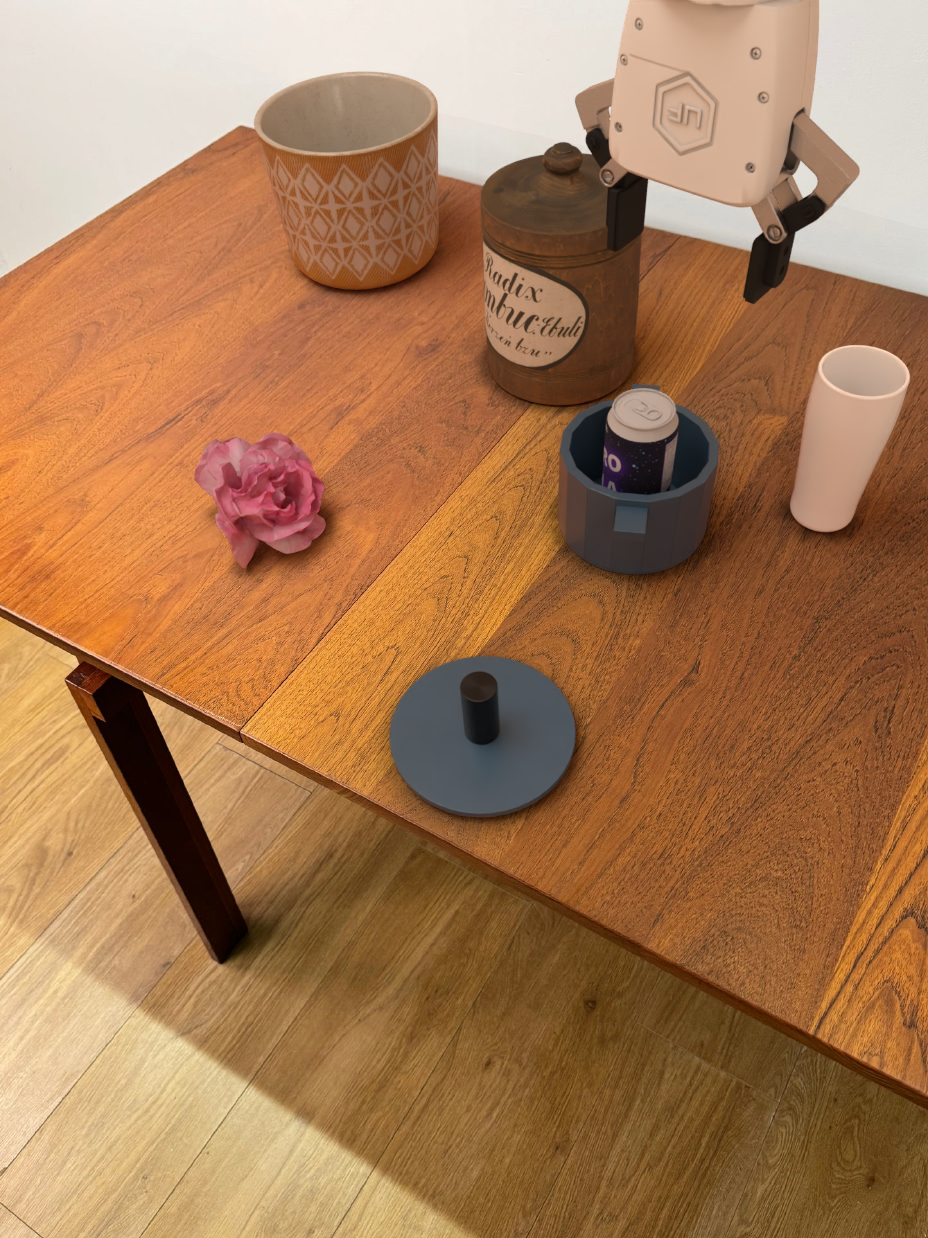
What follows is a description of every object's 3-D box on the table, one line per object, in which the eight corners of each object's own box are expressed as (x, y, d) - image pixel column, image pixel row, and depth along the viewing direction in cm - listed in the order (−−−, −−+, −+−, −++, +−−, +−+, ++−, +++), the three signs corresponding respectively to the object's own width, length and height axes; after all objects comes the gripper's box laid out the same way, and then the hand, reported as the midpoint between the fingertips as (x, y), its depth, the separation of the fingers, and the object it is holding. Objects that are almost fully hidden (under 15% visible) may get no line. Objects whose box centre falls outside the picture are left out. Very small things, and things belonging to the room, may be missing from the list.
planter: (446, 297, 110) (434, 148, 98) (274, 304, 111) (240, 158, 99) (449, 208, 123) (439, 65, 110) (294, 215, 124) (266, 75, 111)
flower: (344, 539, 92) (348, 518, 82) (245, 585, 90) (237, 568, 80) (291, 429, 92) (289, 394, 82) (191, 472, 90) (176, 442, 81)
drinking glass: (869, 540, 84) (922, 397, 72) (788, 542, 84) (828, 400, 73) (850, 485, 88) (898, 341, 77) (773, 487, 89) (808, 345, 77)
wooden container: (457, 361, 103) (442, 148, 86) (560, 302, 109) (565, 92, 92) (558, 428, 95) (563, 209, 78) (663, 361, 101) (689, 143, 84)
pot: (708, 458, 92) (721, 382, 85) (701, 606, 80) (715, 533, 74) (571, 447, 94) (573, 372, 87) (545, 590, 82) (546, 517, 76)
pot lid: (584, 675, 77) (588, 620, 72) (563, 834, 68) (565, 785, 63) (412, 655, 79) (404, 601, 74) (371, 807, 70) (358, 757, 65)
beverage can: (628, 485, 89) (638, 375, 80) (679, 516, 86) (696, 405, 77) (586, 519, 87) (592, 409, 77) (637, 551, 84) (649, 441, 75)
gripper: (542, -64, 50) (541, 249, 63) (865, 5, 42) (787, 345, 56) (628, -106, 53) (610, 200, 67) (941, -49, 46) (850, 284, 59)
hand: (690, 265), depth 61 cm, fingers open, 9 cm apart
